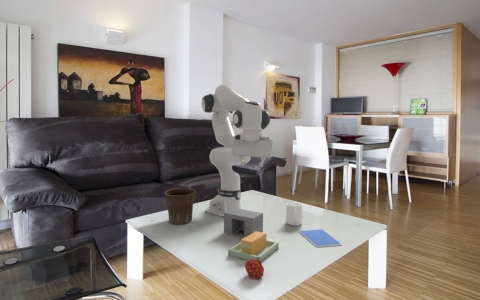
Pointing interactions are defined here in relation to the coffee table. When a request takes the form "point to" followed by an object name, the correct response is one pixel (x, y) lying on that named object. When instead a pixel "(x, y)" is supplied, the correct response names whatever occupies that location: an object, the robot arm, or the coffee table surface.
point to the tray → (261, 255)
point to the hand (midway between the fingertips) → (251, 166)
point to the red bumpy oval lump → (254, 268)
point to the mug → (294, 213)
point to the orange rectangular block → (253, 243)
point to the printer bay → (242, 221)
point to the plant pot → (180, 205)
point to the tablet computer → (320, 238)
